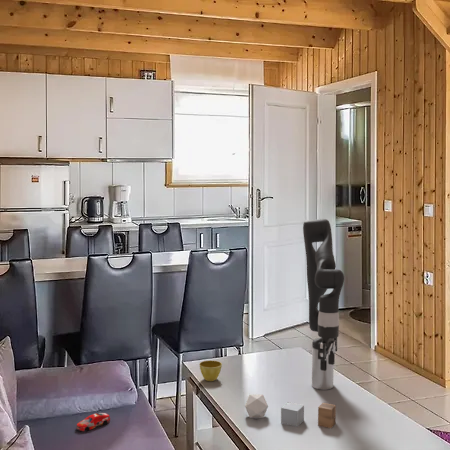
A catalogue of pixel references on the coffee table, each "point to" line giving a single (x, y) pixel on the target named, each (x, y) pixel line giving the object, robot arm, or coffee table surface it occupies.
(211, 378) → the flower pot
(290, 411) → the grey block
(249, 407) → the die
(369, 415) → the coffee table surface
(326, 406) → the walnut block
